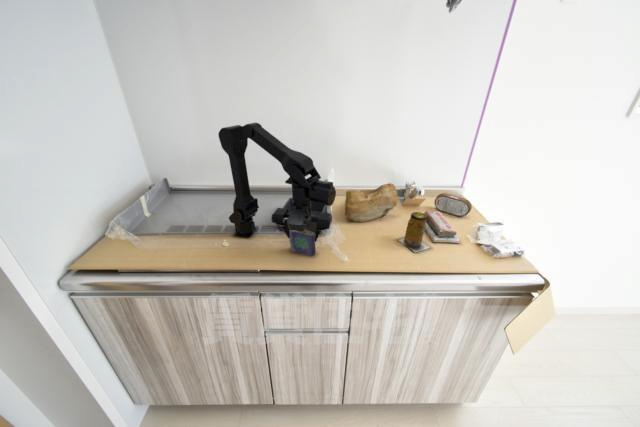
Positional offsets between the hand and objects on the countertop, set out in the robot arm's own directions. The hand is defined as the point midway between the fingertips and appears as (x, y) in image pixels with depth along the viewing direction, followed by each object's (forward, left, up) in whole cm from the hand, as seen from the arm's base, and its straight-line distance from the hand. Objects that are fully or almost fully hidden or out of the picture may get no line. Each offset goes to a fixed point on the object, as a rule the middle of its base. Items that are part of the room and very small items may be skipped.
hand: (302, 239), depth 82 cm
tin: (+59, +42, -5) cm, 73 cm away
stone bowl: (+21, +33, -5) cm, 39 cm away
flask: (0, 0, -5) cm, 5 cm away
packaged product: (+50, +25, -5) cm, 56 cm away
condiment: (+39, +13, -5) cm, 42 cm away
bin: (-5, +21, -5) cm, 22 cm away
